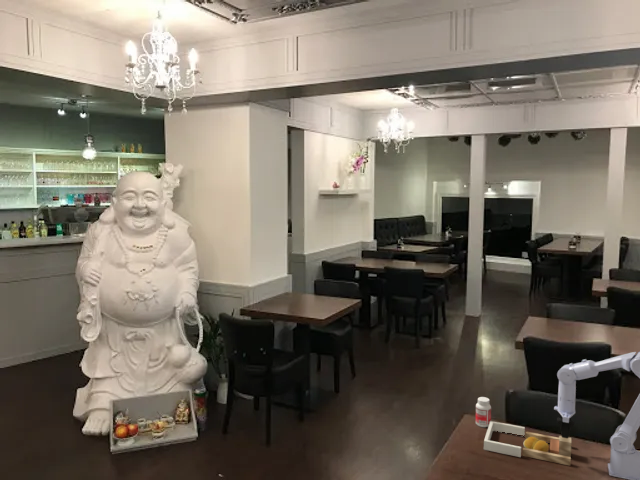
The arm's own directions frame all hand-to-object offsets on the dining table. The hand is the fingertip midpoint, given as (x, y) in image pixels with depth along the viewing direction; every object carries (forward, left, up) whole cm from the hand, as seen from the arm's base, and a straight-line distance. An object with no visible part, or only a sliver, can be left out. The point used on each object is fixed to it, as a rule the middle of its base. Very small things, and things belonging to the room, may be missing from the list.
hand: (565, 432), depth 187 cm
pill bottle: (+31, -12, -9) cm, 34 cm away
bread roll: (+10, 0, -9) cm, 13 cm away
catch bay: (+20, 0, -8) cm, 22 cm away
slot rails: (+6, 0, -8) cm, 10 cm away
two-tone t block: (+1, 0, -9) cm, 9 cm away
